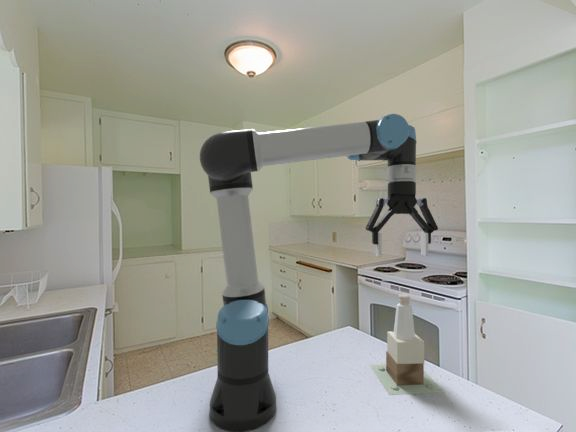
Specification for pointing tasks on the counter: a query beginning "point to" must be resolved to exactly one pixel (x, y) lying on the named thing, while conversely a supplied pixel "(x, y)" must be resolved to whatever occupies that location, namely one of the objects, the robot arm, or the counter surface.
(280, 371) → the counter surface
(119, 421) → the counter surface
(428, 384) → the base plate
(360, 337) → the counter surface
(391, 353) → the brick
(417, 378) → the brick
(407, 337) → the pepper shaker
